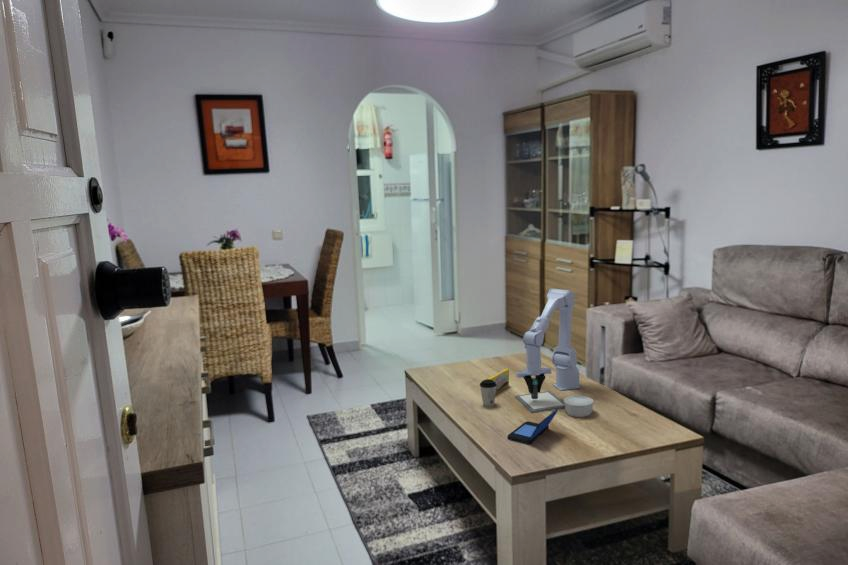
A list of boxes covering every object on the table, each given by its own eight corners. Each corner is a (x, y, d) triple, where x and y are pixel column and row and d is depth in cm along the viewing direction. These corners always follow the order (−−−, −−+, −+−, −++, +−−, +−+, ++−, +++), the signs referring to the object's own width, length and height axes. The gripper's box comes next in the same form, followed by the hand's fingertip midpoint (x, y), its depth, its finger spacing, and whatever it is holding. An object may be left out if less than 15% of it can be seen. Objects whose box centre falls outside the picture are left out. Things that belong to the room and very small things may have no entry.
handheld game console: (526, 424, 217) (525, 401, 215) (559, 432, 209) (559, 407, 207) (506, 439, 204) (505, 415, 203) (540, 448, 196) (539, 423, 195)
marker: (536, 396, 238) (536, 377, 236) (539, 398, 235) (539, 379, 233) (529, 397, 237) (529, 378, 236) (532, 399, 234) (532, 380, 233)
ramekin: (593, 408, 228) (593, 395, 227) (593, 419, 217) (593, 406, 216) (564, 406, 231) (564, 394, 230) (563, 417, 220) (563, 404, 220)
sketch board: (549, 392, 247) (549, 390, 247) (569, 407, 230) (569, 405, 230) (514, 397, 244) (514, 395, 244) (531, 412, 226) (531, 410, 226)
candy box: (491, 398, 245) (490, 379, 243) (486, 397, 246) (486, 378, 244) (509, 386, 257) (509, 368, 256) (505, 385, 259) (504, 367, 257)
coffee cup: (496, 408, 233) (495, 384, 231) (479, 407, 234) (478, 384, 233) (497, 401, 240) (497, 378, 238) (481, 401, 241) (480, 378, 240)
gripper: (520, 365, 228) (521, 397, 230) (554, 360, 231) (555, 393, 233) (514, 360, 235) (515, 391, 237) (546, 356, 238) (547, 387, 240)
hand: (534, 392), depth 236 cm, fingers closed on marker, 3 cm apart
